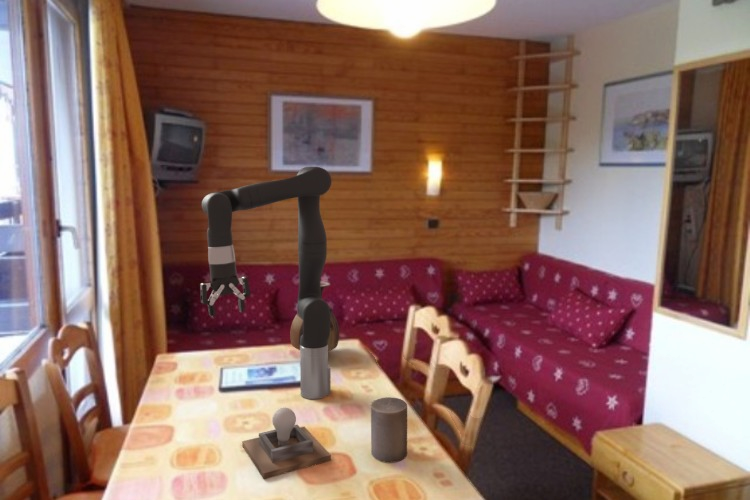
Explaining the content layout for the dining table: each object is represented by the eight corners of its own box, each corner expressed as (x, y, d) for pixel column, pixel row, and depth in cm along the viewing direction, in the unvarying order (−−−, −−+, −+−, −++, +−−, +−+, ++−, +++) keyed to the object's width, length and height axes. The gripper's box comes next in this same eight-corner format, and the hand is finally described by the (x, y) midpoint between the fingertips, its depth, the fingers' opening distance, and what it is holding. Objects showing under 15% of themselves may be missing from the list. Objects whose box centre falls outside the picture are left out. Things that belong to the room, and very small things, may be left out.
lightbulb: (291, 455, 141) (292, 415, 139) (268, 452, 141) (269, 412, 140) (297, 443, 147) (299, 405, 145) (275, 440, 147) (277, 402, 146)
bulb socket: (304, 431, 156) (304, 416, 156) (330, 460, 141) (330, 444, 140) (242, 446, 148) (242, 430, 147) (263, 479, 132) (263, 461, 132)
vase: (315, 369, 204) (315, 291, 200) (277, 359, 215) (276, 285, 210) (351, 353, 223) (351, 281, 219) (314, 344, 234) (314, 276, 230)
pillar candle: (411, 447, 148) (411, 395, 146) (401, 465, 139) (401, 409, 137) (377, 442, 151) (377, 390, 149) (365, 459, 142) (365, 404, 140)
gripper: (201, 265, 154) (207, 321, 156) (249, 258, 161) (254, 312, 163) (194, 262, 160) (200, 316, 162) (241, 256, 167) (246, 307, 170)
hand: (227, 314), depth 163 cm, fingers open, 8 cm apart
